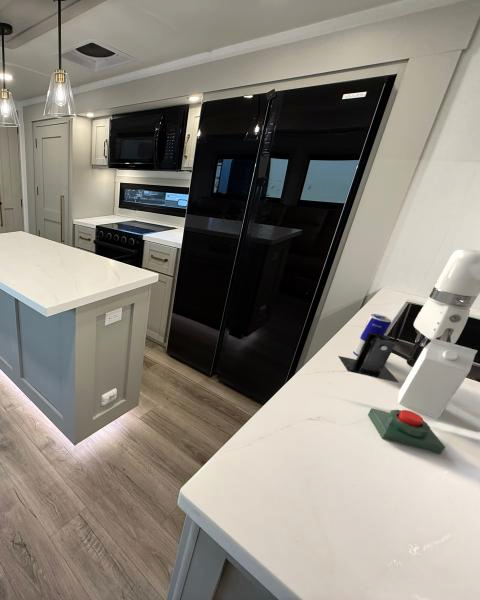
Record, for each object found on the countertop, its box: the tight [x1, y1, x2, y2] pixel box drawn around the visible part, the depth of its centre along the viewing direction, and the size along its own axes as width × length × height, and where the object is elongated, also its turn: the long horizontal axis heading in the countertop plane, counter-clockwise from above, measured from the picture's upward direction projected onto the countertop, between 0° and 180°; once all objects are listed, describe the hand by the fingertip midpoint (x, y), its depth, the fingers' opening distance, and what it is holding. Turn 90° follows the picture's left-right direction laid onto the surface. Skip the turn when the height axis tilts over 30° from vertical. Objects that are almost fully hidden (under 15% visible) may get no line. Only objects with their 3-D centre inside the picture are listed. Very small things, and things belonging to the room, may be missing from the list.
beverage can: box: [352, 313, 393, 357], centre depth 97 cm, size 5×5×15 cm
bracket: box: [337, 333, 400, 384], centre depth 91 cm, size 12×9×12 cm
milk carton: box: [397, 339, 478, 419], centre depth 76 cm, size 7×7×19 cm
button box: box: [367, 407, 446, 455], centre depth 70 cm, size 10×8×4 cm
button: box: [398, 409, 424, 428], centre depth 69 cm, size 4×4×2 cm
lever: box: [370, 336, 417, 368], centre depth 89 cm, size 13×3×3 cm, turn 67°
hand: (417, 357), depth 87 cm, fingers closed
